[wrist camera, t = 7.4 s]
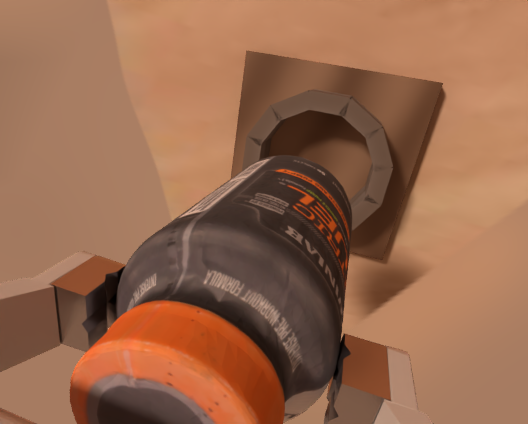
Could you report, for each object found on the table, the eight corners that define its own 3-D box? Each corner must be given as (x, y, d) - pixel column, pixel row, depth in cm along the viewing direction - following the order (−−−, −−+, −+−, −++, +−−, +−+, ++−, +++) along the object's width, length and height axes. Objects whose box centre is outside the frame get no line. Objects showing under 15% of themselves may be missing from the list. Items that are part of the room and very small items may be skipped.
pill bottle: (378, 236, 15) (406, 547, 5) (275, 287, 18) (155, 566, 8) (304, 125, 14) (158, 231, 4) (206, 195, 17) (-33, 368, 7)
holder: (440, 83, 24) (453, 83, 20) (381, 254, 29) (383, 278, 26) (250, 51, 26) (232, 47, 23) (229, 214, 32) (212, 231, 28)
